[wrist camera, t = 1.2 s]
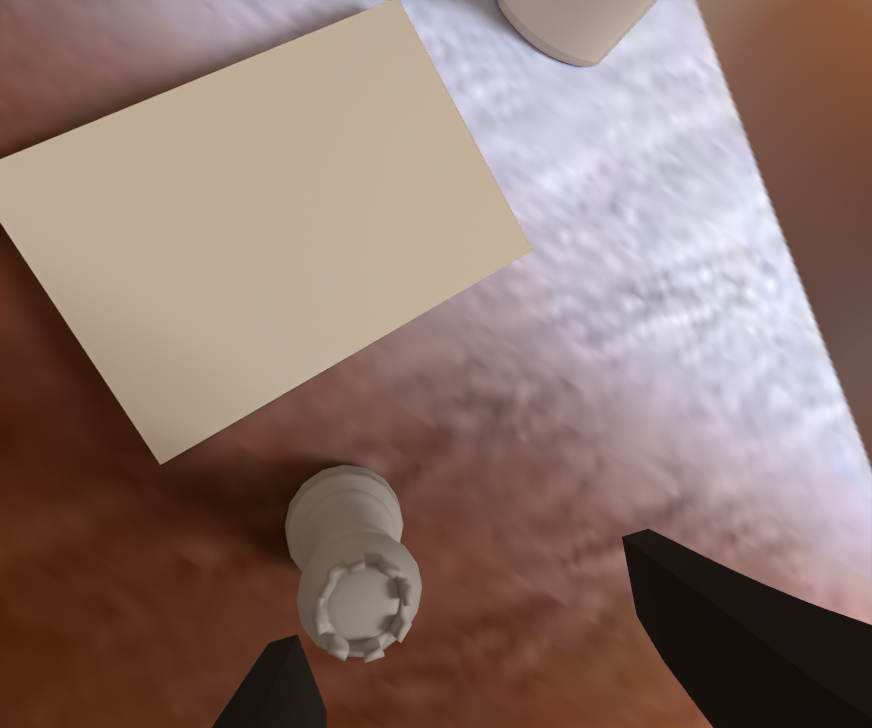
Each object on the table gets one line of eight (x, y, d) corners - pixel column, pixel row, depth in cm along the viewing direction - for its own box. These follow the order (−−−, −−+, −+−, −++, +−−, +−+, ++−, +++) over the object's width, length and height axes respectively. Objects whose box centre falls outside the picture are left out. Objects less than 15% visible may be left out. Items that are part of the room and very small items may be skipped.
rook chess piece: (343, 598, 20) (364, 741, 12) (260, 524, 19) (226, 626, 11) (421, 513, 21) (487, 596, 13) (344, 439, 20) (365, 481, 12)
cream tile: (172, 457, 18) (160, 465, 17) (-4, 189, 17) (-33, 172, 16) (518, 258, 22) (532, 250, 21) (391, 23, 21) (397, -3, 19)
